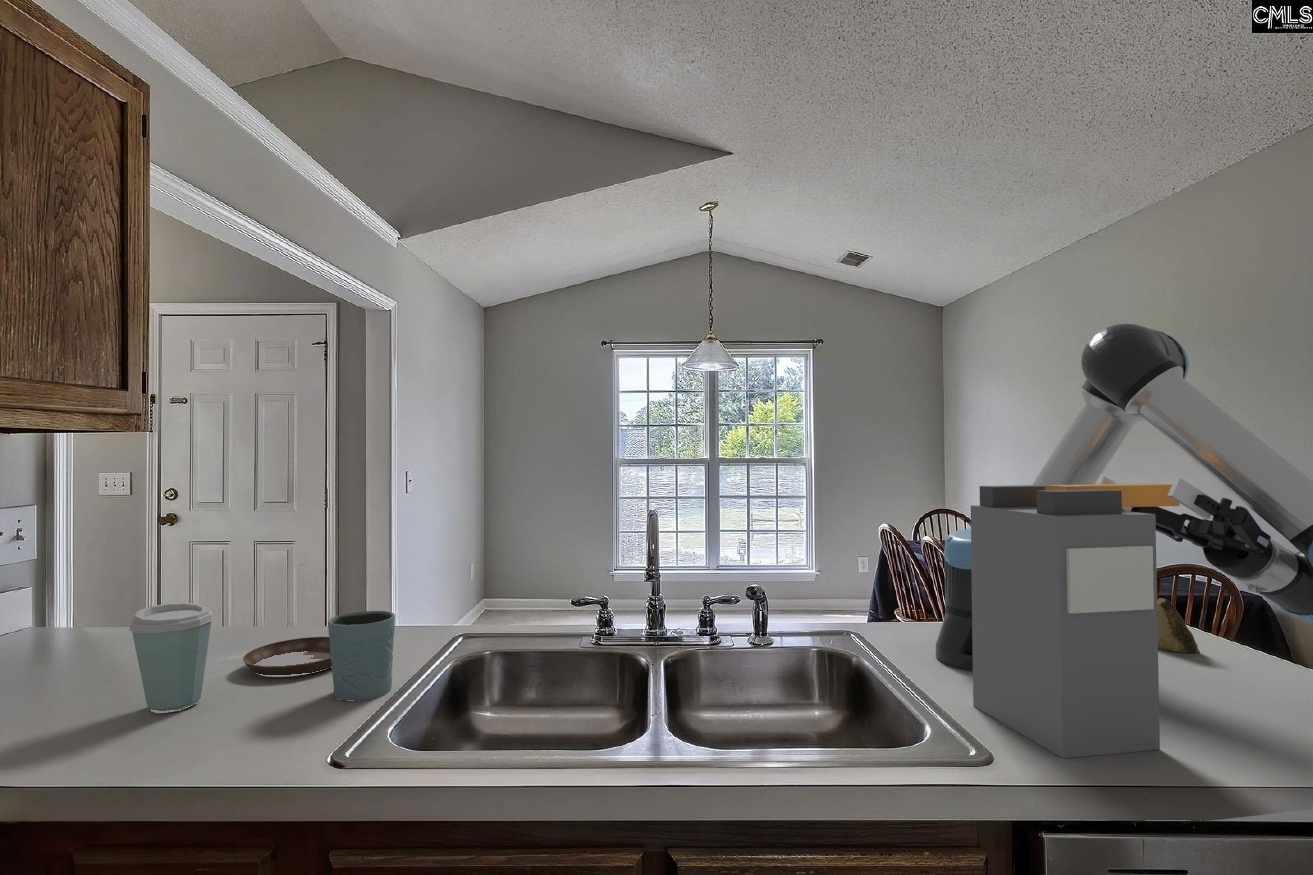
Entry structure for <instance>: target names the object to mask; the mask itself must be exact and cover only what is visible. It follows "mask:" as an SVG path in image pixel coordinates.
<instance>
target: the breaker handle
mask: <svg viewBox="0 0 1313 875" xmlns="http://www.w3.org/2000/svg"><path fill="white" fill-rule="evenodd" d="M1172 484H1173V483H1172ZM1172 484H1171V483H1154V482H1153V483H1116V484H1097V483H1095V484H1085V485H1045V490H1096V489H1105V490H1120V491H1122V507H1156V506H1157V507H1180V503H1179V502H1177V501H1175V500H1174V499H1172V498H1171V497H1169V496H1167V495H1168V493H1169V491H1170V489H1171V486H1172Z"/></svg>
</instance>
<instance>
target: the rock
mask: <svg viewBox="0 0 1313 875" xmlns="http://www.w3.org/2000/svg"><path fill="white" fill-rule="evenodd" d="M1157 623H1158V649H1161V650H1167V651H1170V652H1171V651H1172V652H1175V653H1185V654H1186V653H1187V654H1200V652H1201V651H1200V650H1199V648H1198V647H1199V646H1198V643H1197V642H1196V640H1195V637H1194V635H1193V633H1192V631H1191V630H1190V629H1189V628H1188V627H1187V624H1186V622H1185V621H1184V619H1183V617H1182V615H1181V614H1180V613H1179V611H1178V609H1177V608H1176V607H1175V606H1174V605H1173V604H1172V602H1171V601H1170V600H1169V599H1165V598H1163V597H1160V598H1157Z"/></svg>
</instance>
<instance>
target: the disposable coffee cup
mask: <svg viewBox="0 0 1313 875" xmlns="http://www.w3.org/2000/svg"><path fill="white" fill-rule="evenodd" d="M214 617H215V616H214V614H213V610H212V609H210V607H209V606H207V605H204V604H202V603H201V604H200V603H193V602H191V603H190V602H174V603H173V602H172V603H169V602H168V603H163V604H157V605H152V606H148V607H145V608H142V609H139V610H137V611H136V612H135V614H134V616H133V620H132V621H131V622H130V624H129V630H128V631H129V632H131V634H132V638H133V643H134V646H135V647H134V648H135V652H136V653H135V654H136V656H137V657H136V658H137V663H138V667H139V668H138V669H139V673H140V677H141V681H142V682H141V684H142V687H143V692H144V693H143V694H144V696H145V702H146V707H147V708H150V709H152V710H158V711H167V710H168V711H169V710H179V709H183V708H185V707H188V706H191V705H194V704H195V703H197V702H198V701H199V702H200V699H201V696H202V691H203V683H204V677H205V671H206V663H207V657H208V649H209V642H210V636H211V627H212V622H213V620H214ZM199 702H198V703H199ZM150 709H149V710H150Z"/></svg>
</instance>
